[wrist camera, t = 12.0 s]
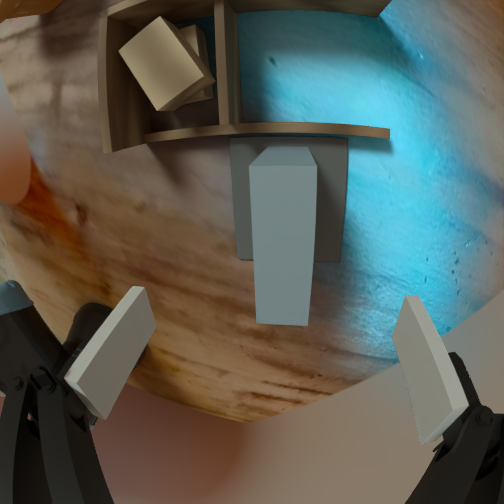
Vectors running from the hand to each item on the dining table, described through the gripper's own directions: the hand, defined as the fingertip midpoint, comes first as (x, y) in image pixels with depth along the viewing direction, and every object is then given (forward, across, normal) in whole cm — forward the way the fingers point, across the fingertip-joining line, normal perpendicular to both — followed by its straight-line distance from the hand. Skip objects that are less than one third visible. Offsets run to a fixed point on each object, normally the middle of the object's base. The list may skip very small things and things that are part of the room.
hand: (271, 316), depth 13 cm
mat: (+18, +1, 0) cm, 18 cm away
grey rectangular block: (+18, 0, 0) cm, 18 cm away
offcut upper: (+15, -10, +15) cm, 24 cm away
